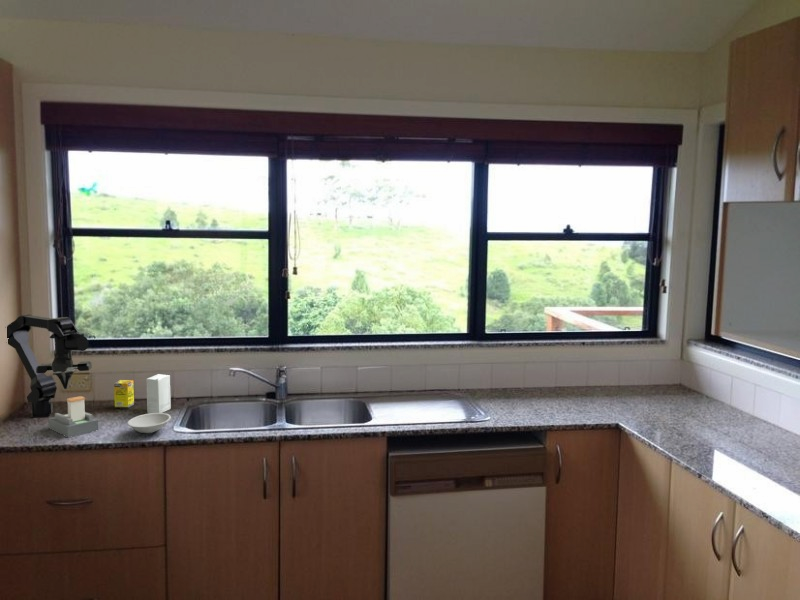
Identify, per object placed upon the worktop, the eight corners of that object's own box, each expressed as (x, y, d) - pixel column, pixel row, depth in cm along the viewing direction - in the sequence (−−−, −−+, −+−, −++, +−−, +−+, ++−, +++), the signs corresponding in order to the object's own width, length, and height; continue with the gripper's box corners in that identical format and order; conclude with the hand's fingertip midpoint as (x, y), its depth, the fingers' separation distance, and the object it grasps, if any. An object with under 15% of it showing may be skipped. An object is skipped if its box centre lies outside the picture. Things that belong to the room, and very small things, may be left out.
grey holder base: (49, 428, 241) (48, 413, 240) (78, 421, 250) (78, 406, 249) (68, 437, 231) (67, 421, 230) (98, 430, 240) (97, 414, 239)
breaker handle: (67, 420, 237) (66, 398, 236) (81, 417, 241) (80, 396, 240) (71, 422, 235) (70, 400, 234) (85, 419, 239) (84, 397, 238)
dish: (158, 441, 229) (158, 427, 228) (119, 439, 229) (118, 426, 229) (178, 425, 246) (178, 413, 246) (142, 424, 247) (141, 412, 246)
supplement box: (128, 409, 268) (127, 383, 267) (114, 408, 268) (113, 383, 267) (134, 405, 274) (133, 380, 273) (120, 404, 274) (119, 379, 273)
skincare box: (159, 408, 270) (158, 373, 268) (171, 409, 268) (170, 374, 266) (146, 413, 262) (145, 378, 260) (159, 414, 260) (158, 379, 258)
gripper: (30, 354, 241) (33, 395, 242) (84, 352, 245) (86, 392, 247) (39, 349, 251) (42, 388, 253) (90, 347, 256) (93, 385, 257)
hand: (65, 388), depth 252 cm, fingers closed
